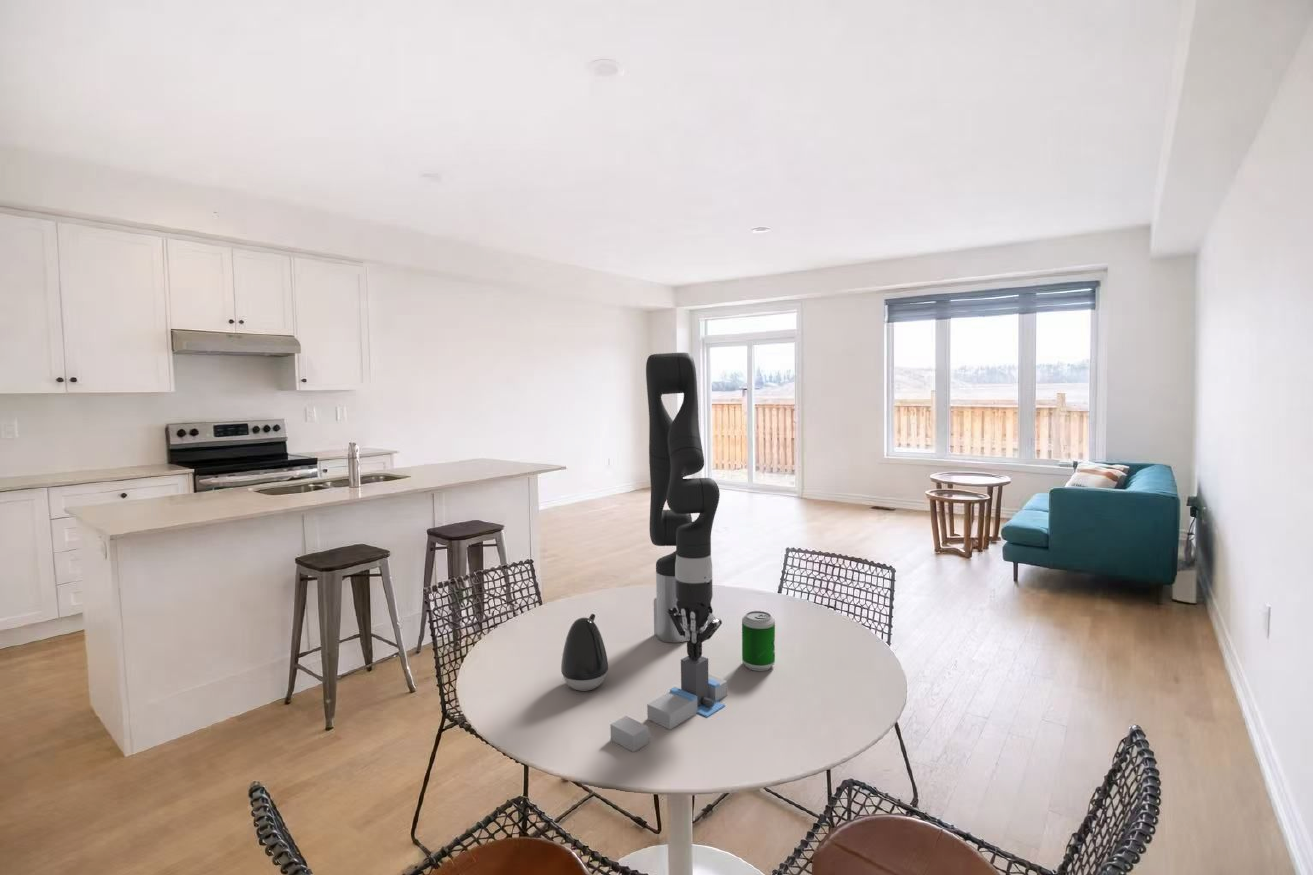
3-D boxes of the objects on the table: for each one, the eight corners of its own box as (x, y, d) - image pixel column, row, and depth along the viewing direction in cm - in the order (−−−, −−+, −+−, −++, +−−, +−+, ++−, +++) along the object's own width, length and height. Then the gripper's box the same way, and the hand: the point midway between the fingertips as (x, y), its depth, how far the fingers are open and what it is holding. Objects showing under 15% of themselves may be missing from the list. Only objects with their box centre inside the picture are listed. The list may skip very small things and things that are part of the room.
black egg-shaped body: (616, 677, 146) (614, 612, 144) (596, 699, 136) (595, 629, 134) (575, 671, 149) (573, 607, 148) (553, 692, 139) (551, 624, 138)
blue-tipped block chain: (601, 734, 123) (601, 716, 122) (696, 682, 143) (696, 666, 143) (643, 757, 115) (643, 738, 115) (736, 698, 135) (736, 682, 135)
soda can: (774, 673, 146) (774, 622, 145) (741, 671, 148) (740, 620, 147) (775, 659, 154) (775, 610, 153) (743, 657, 155) (743, 608, 154)
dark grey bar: (681, 701, 134) (680, 659, 133) (693, 694, 137) (693, 653, 136) (705, 711, 130) (705, 668, 129) (718, 704, 132) (717, 662, 132)
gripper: (657, 573, 133) (658, 654, 135) (707, 587, 124) (708, 674, 126) (681, 565, 139) (682, 643, 140) (731, 577, 130) (731, 661, 131)
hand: (694, 657), depth 133 cm, fingers closed
